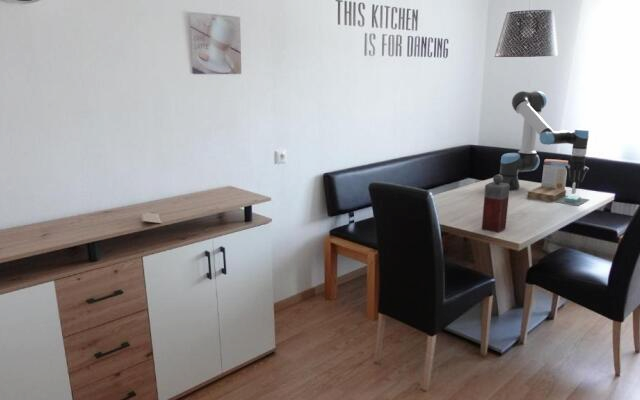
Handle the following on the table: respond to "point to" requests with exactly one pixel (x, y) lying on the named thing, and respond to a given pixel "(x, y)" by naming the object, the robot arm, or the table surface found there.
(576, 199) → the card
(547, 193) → the deck
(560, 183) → the cracker box
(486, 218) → the red square decanter
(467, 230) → the table surface
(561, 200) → the mat
